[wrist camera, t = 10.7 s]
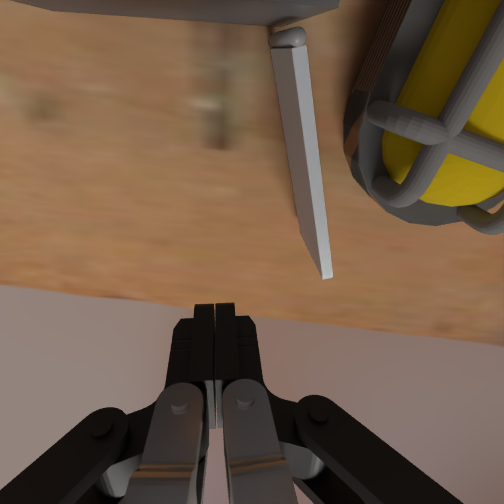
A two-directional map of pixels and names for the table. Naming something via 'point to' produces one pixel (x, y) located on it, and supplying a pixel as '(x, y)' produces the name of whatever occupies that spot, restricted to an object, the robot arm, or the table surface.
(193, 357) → the robot arm
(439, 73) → the cage light
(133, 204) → the table surface
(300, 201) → the side door
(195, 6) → the block
